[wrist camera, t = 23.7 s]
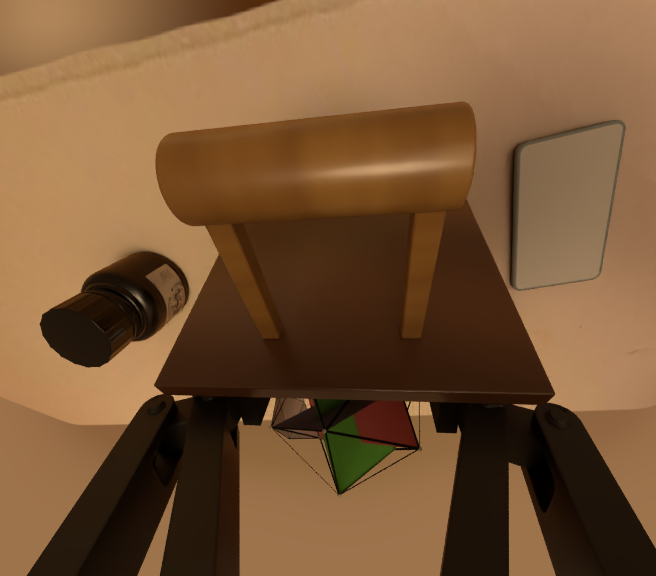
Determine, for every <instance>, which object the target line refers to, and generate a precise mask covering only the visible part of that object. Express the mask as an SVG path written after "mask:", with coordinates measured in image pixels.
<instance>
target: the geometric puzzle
mask: <svg viewBox="0 0 656 576" xmlns="http://www.w3.org/2000/svg"><path fill="white" fill-rule="evenodd" d="M309 402H310V406H311V408H309V409H307V407H306V405H305V403H304V398H276V402H275V407H274V413H273V418H272V424H271V426H270V429H273V430H276V431H277V432H279V433H281V434H282V435H284V436H285V437H287V438H288V439H316V438H317V439H320V441H321V439H324V442H325V446H326V449H327V453H328V456H329V460H330V464H331V467H330V464H329V461H328V458H327V455H326V452H325V450H324V447H323V444H322V441H321V444H322V447H323V450H324V453H325V456H326V459H327V462H328V465H329V468H330V471H331V474H332V477H333V480H334V483H335V486H336V489H337V492H338V493H337V494H338V497H341V494H343V493H344V491H348V490H350V489H351V488H350V489H348V488H349V487H350V486H352V485H353V484H354V483H355V482H356V481H358V480H359V479H360V478H361V477H362V476H364V475H365V474H366V473H367V472H368V471H369V470H371V469H372V468H373V467H374V466H376V465H377V464H378V463H379V462H381V461H382V460H383V459H384V458H385V457H386V456H388V455H389V454H390V453H391V452H393V451H396V450H416V451H417V450H419V451H422V448H421V447H420V445H419V444H420V441H419V443H418V440H417V438H416V434H415V431H414V428H413V425H412V422H411V419H410V415H409V412H408V409H409V406H410V403H411V401H410V402H409V405H408V408H407V406H406V403H405V401H379V400H341V399H309ZM419 416H420V402H419ZM419 421H420V420H419ZM317 432H318V433H317ZM419 432H420V430H419ZM419 435H420V434H419ZM419 437H420V436H419ZM289 446H290V445H289ZM394 446H395V447H405V448H395V447H394ZM290 447H291V446H290ZM292 449H293V448H292ZM416 451H414V452H416ZM414 452H412V453H414ZM297 454H298V453H297ZM409 455H411V454H409ZM407 456H408V455H407ZM407 456H405V457H407ZM405 457H404V458H405ZM404 458H402V459H404ZM402 459H400V460H402ZM400 460H399V461H400ZM397 462H398V461H397ZM397 462H395V463H397ZM395 463H393V464H395ZM393 464H392V465H393ZM390 466H391V465H390ZM311 468H312V467H311ZM331 468H332V470H331ZM386 468H388V467H386ZM386 468H384V469H386ZM312 469H313V468H312ZM384 469H383V470H384ZM332 471H333V473H332ZM381 471H382V470H381ZM381 471H379V472H381ZM379 472H378V473H379ZM316 473H317V472H316ZM376 474H377V473H376ZM376 474H374V475H376ZM333 475H334V476H333ZM374 475H372V476H374ZM372 476H371V477H372ZM321 478H322V477H321ZM367 479H369V478H367ZM367 479H365V480H367ZM365 480H364V481H365ZM364 481H363V482H364ZM360 483H362V482H360ZM360 483H359V484H360ZM357 485H358V484H357ZM357 485H355V486H357ZM355 486H353V487H355ZM353 487H352V488H353ZM331 488H332V487H331ZM347 489H348V490H347Z"/></svg>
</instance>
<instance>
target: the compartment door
mask: <svg viewBox="0 0 656 576" xmlns="http://www.w3.org/2000/svg"><path fill="white" fill-rule="evenodd" d="M475 159H476V124H475V117H474V113H473V110H472V107H471V106H470V104H468V103H466V102H454V103H445V104H436V105H427V106H417V107H408V108H399V109H390V110H380V111H371V112H362V113H352V114H343V115H334V116H325V117H315V118H306V119H297V120H288V121H278V122H269V123H260V124H251V125H241V126H232V127H223V128H214V129H204V130H195V131H186V132H176V133H170V134H168V135H166V136H165V137H164V138H163V139H162V140H161V142H160V143H159V145H158V148H157V152H156V174H157V180H158V184H159V187H160V190H161V193H162V196H163V198H164V200H165V202H166V204H167V206H168V207H169V209H170V210H171V212H172V213H173V214H174V215H175V216H176V217H177V218H178V219H179V220H180V221H181V222H183V223H185V224H187V225H190V226H206V228H207V230H208V232H209V234H210V236H211V238H212V240H213V242H214V244H215V246H216V248H217V250H218V252H219V256H218V258H217V260H216V262H215V264H214V266H213V268H212V270H211V272H210V274H209V276H208V278H207V280H206V282H205V284H204V286H203V288H202V290H201V292H200V294H199V296H198V298H197V300H196V302H195V304H194V306H193V308H192V310H191V312H190V314H189V316H188V318H187V320H186V322H185V324H184V326H183V328H182V330H181V332H180V334H179V336H178V338H177V340H176V342H175V344H174V346H173V348H172V350H171V352H170V354H169V356H168V358H167V360H166V362H165V364H164V366H163V368H162V370H161V372H160V374H159V376H158V378H157V380H156V382H155V384H154V386H155V387H156V388H157V389H159V390H160V391H161V392H162V393H164V394H165V395H192V396H230V397H267V398H304V399H341V400H379V401H416V402H453V403H491V404H528V405H545V404H546V403H547V402H548V401H549V400H550V399H551V398H552V397H553V396H554V395H555V392H554V390H553V388H552V386H551V383H550V381H549V379H548V377H547V375H546V372H545V370H544V368H543V366H542V364H541V361H540V359H539V357H538V355H537V353H536V351H535V348H534V346H533V344H532V342H531V340H530V337H529V335H528V333H527V331H526V329H525V327H524V324H523V322H522V320H521V318H520V316H519V313H518V311H517V309H516V307H515V305H514V302H513V300H512V298H511V296H510V294H509V292H508V289H507V287H506V285H505V283H504V281H503V278H502V276H501V274H500V272H499V270H498V268H497V265H496V263H495V261H494V259H493V257H492V254H491V252H490V250H489V248H488V246H487V243H486V241H485V239H484V237H483V235H482V233H481V230H480V228H479V226H478V224H477V222H476V219H475V217H474V215H473V213H472V211H471V209H470V206H469V204H468V202H467V200H466V198H467V195H468V192H469V189H470V186H471V182H472V178H473V173H474V167H475Z"/></svg>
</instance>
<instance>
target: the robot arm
mask: <svg viewBox="0 0 656 576" xmlns="http://www.w3.org/2000/svg"><path fill="white" fill-rule="evenodd" d="M269 401H270V398H267V397H230V396H193V397H191V398H188V399H183V400H179V401H174V398H173V396H171V395H165V394H161V395H157V396H155V397H153V398H151V399H149V400H148V401H146V402H145V403H144V404H143V405H142V406H141V407H140V409H139V410H138V412H137V413H136V415H135V416H134V418H133V419H132V421H131V422H130V424H129V425H128V427H127V428H126V430H125V431H124V433H123V434H122V436H121V437H120V439H119V440H118V442H117V443H116V445H115V446H114V447H113V449H112V450H111V452H110V453H109V455H108V456H107V458H106V459H105V461H104V462H103V464H102V465H101V467H100V468H99V470H98V471H97V473H96V474H95V476H94V477H93V479H92V480H91V482H90V483H89V484H88V486H87V487H86V489H85V490H84V492H83V493H82V495H81V496H80V498H79V499H78V501H77V502H76V504H75V505H74V507H73V508H72V510H71V511H70V513H69V514H68V515H67V517H66V518H65V520H64V522H63V523H62V524H61V526H60V527H59V529H58V530H57V532H56V533H55V535H54V536H53V538H52V539H51V541H50V542H49V544H48V545H47V547H46V548H45V550H44V551H43V552H42V554H41V556H40V557H39V558H38V560H37V561H36V563H35V564H34V566H33V567H32V569H31V570H30V572H29V573H28V575H27V576H137V575H138V573H139V570H140V568H141V565H142V563H143V561H144V559H145V556H146V554H147V551H148V549H149V547H150V544H151V542H152V539H153V537H154V534H155V532H156V530H157V528H158V525H159V523H160V520H161V518H162V516H163V513H164V511H165V508H166V506H167V504H168V501H169V499H170V497H171V494H172V491H173V490H174V487H175V485H176V482H177V486H176V492H175V497H174V502H173V508H172V513H171V519H170V524H169V529H168V535H167V540H166V545H165V551H164V556H163V561H162V567H161V572H160V576H239V428H238V422H239V420H240V418H241V417H242V420H243V423H244V425H261V423H262V420H263V417H264V415H265V412H266V409H267V406H268V404H269ZM430 407H431V411H432V415H433V419H434V423H435V427H436V431H437V433H457V427H458V425H459V428H460V431H461V439H460V445H459V451H458V459H457V465H456V472H455V479H454V485H453V493H452V499H451V505H450V512H449V518H448V525H447V532H446V538H445V546H444V552H443V558H442V565H441V572H440V576H509V472H508V471H509V468H508V467H509V465H508V464H509V462H510V463H513V464H516V465H519V466H521V469H522V472H523V475H524V478H525V481H526V484H527V487H528V490H529V494H530V497H531V499H532V503H533V506H534V509H535V512H536V515H537V518H538V522H539V525H540V527H541V531H542V534H543V537H544V540H545V543H546V546H547V549H548V552H549V556H550V559H551V562H552V565H553V568H554V571H555V574H556V576H656V548H655V547H654V545H653V543H652V542H651V540H650V538H649V536H648V535H647V533H646V531H645V530H644V528H643V526H642V524H641V523H640V521H639V519H638V518H637V516H636V514H635V513H634V511H633V509H632V507H631V506H630V504H629V502H628V500H627V499H626V497H625V495H624V494H623V492H622V490H621V489H620V487H619V485H618V484H617V482H616V480H615V478H614V477H613V475H612V473H611V471H610V470H609V468H608V466H607V465H606V463H605V461H604V459H603V458H602V456H601V454H600V453H599V451H598V449H597V447H596V446H595V444H594V442H593V441H592V439H591V437H590V435H589V434H588V432H587V430H586V429H585V427H584V425H583V424H582V422H581V420H580V419H579V418H578V417H577V416H576V415H575V414H574V413H573V412H571V411H570V410H568V409H567V408H564V407H562V406H560V405H557V404H553V403H546V404H545V405H537V406H536V408H535V410H531V409H527V408H523V407H519V406H516V405H513V404H491V403H453V402H430ZM177 480H178V481H177Z"/></svg>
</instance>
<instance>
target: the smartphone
mask: <svg viewBox="0 0 656 576" xmlns="http://www.w3.org/2000/svg"><path fill="white" fill-rule="evenodd" d="M624 134H625V124H624V123H623V122H622V121H620V120H612V121H608V122H604V123H600V124H596V125H592V126H587V127H583V128H579V129H575V130H571V131H567V132H563V133H559V134H555V135H551V136H547V137H543V138H539V139H535V140H530V141H526V142H524V143H522V144H520V145H519V146H518V147H517V149H516V151H515V162H514V201H513V240H512V279H511V284H512V287H513V288H514V289H516V290H527V289H534V288H541V287H547V286H554V285H561V284H567V283H574V282H581V281H587V280H593V279H595V278H597V277H598V276H599V275H600V273H601V269H602V263H603V257H604V251H605V245H606V240H607V234H608V228H609V222H610V216H611V210H612V204H613V199H614V193H615V187H616V181H617V175H618V169H619V163H620V158H621V152H622V146H623V140H624Z"/></svg>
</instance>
